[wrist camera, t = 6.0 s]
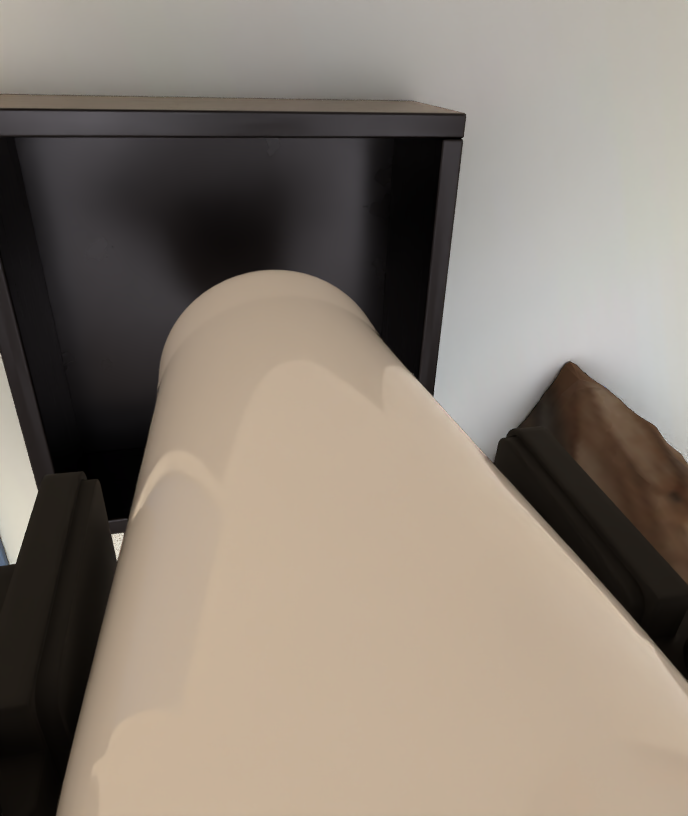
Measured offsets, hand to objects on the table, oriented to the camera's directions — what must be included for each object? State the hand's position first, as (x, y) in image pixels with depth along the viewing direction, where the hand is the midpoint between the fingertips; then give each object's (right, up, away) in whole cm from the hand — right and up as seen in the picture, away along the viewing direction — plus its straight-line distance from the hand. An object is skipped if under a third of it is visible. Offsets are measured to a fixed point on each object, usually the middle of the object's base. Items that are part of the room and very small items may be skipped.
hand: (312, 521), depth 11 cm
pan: (-3, +6, +10) cm, 12 cm away
